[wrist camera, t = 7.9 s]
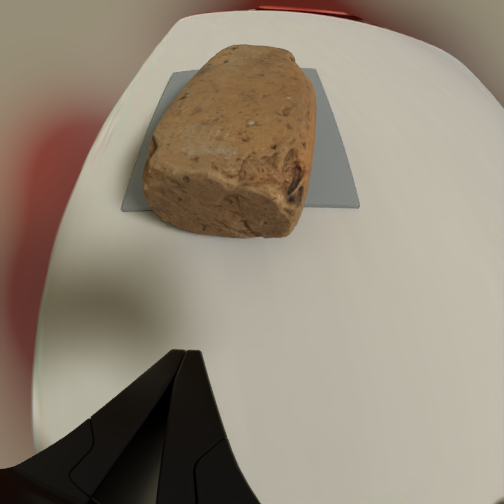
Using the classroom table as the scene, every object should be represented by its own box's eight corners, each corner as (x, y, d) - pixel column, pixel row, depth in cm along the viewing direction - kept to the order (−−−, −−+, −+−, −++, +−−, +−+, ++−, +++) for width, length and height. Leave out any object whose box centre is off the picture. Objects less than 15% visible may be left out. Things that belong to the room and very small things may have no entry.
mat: (123, 211, 22) (121, 209, 22) (173, 75, 32) (173, 72, 32) (358, 208, 22) (360, 205, 21) (315, 71, 32) (315, 68, 32)
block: (114, 165, 14) (217, 39, 22) (153, 233, 20) (222, 93, 29) (314, 188, 12) (321, 47, 21) (296, 258, 19) (314, 103, 28)
